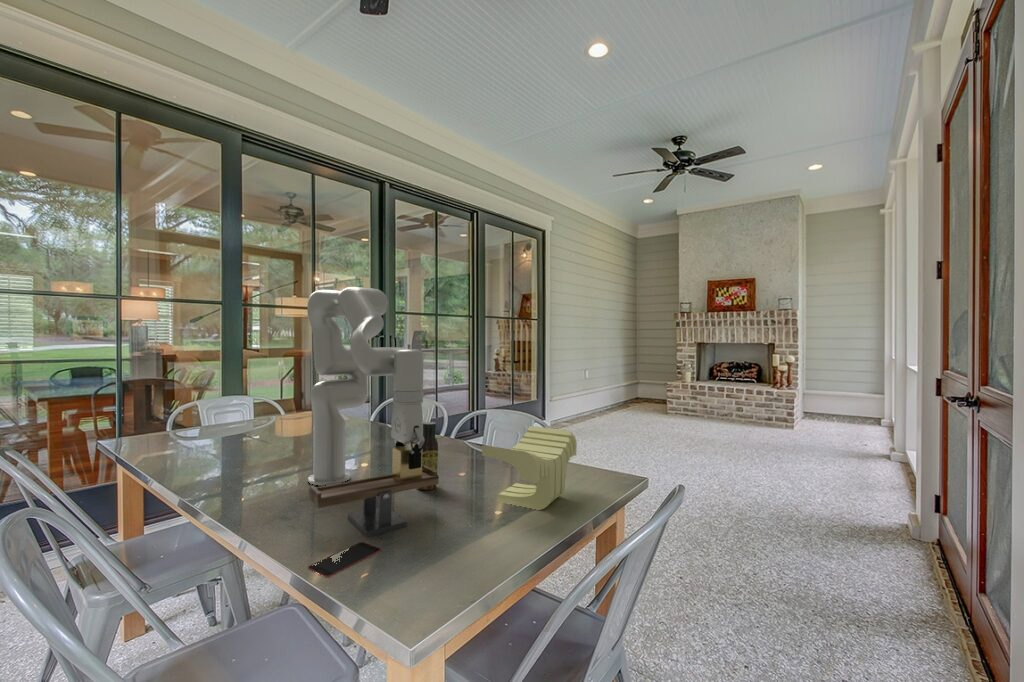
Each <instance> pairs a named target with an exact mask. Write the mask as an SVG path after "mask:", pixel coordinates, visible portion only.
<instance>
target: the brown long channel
mask: <svg viewBox="0 0 1024 682" xmlns="http://www.w3.org/2000/svg"><path fill="white" fill-rule="evenodd" d="M439 480H440V479H439V474H438V470H437V471H435V470H433V469H431V468H429V467H427V466H423V469H422V478H419V479H414V480H409V481H403V482H398V481H396V480H395V479H393V478H392V473H391V474H386V475H385V474H384V475H381V476H374V477H369V478H367V477H366V478H363V479H358V480H352V481H346V482H343V483H339V484H333V485H327V486H317V487H316V485H312V484H311V485H309V488H308V498H309V500H310V501H311V502H312V503H313V504H314V505H315V506H316V508H317V509H321V508H325V507H331V506H332V507H333V506H335V505H336V506H337V505H340V504H341V505H342V504H346V503H351V502H355V501H360V500H363V499H366V498H371V497H376V498H377V497H378V493H379V492H384V491H389V490H390V491H392V494H395V493H399V492H406V491H410V490H411V491H412V490H415V489H418V488H421V487H426V486H431V485H436V486H437V485H439Z"/></svg>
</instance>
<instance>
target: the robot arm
mask: <svg viewBox="0 0 1024 682" xmlns="http://www.w3.org/2000/svg"><path fill="white" fill-rule="evenodd" d="M388 306H389V301H388V297H387V296H386V294H385V293H384V292H383V291H382V290H380V289H377V288H371V287H360V286H359V287H358V286H350V287H349V286H348V287H346V288H344V289H342V290H335V289H321V290H316V291H314V292H312V293H311V294H310V296H309V297H308V300H307V306H306V308H307V309H306V312H307V317H308V321H309V323H310V327H311V331H312V342H313V343H312V344H313V347H312V348H313V362H314V363H313V364H314V365H313V366H314V368H315V369H314V370H315V372H316V374H318V375H320V376H323V377H333V376H334V377H336V376H346V378H347V379H346V378H345V379H331V380H323V381H319V382H317V383H315V384H314V385H313V386H312V387H311V389H310V393H309V397H310V403H311V408H312V416H313V418H312V419H313V420H312V421H313V438H312V439H313V444H312V445H313V447H312V449H313V450H312V451H313V453H312V454H313V455H312V456H313V457H312V458H313V459H312V474H311V475H309V476H308V477H307V483H308V482H309V483H310V485H312V484H313V485H314V486H316V485H318V486H317V487H322V486H325V485H333V484H339V483H342V482H343V483H345V481H346V482H348V481H349V480H350V479H351V473H350V472H349V471H346V443H347V442H346V436H347V433H346V432H347V431H346V429H347V428H346V427H347V426H346V421H345V419H344V417H343V416H342V415H341V414H340V412H339V411H340V410H346V409H353V408H354V409H356V408H359V407H362V406H364V405H365V404H366V402H367V399H368V377H382V376H384V377H385V376H393V381H392V383H393V385H392V386H393V387H392V388H393V389H392V390H393V391H392V398H393V399H392V403H393V404H392V411H391V420H390V421H391V422H390V423H391V425H390V437H391V438H392V439H393V447H398V446H405V445H409V449H410V453H409V469H416V468H420V467H421V452H422V448H423V444H424V441H425V439H424V437H423V423H424V417H423V416H424V415H423V406H422V404H423V402H424V353H423V351H422V350H421V349H415V348H414V349H413V348H405V347H401V346H400V347H397V346H396V347H394V346H393V347H390V346H389V347H386V346H385V347H384V346H383V347H372V346H371V345H370V343H369V342H368V341H369V340H370V339H372V338H374V337H376V336H377V335H378V334H380V332H381V331H382V330H383V328H384V325H385V324H384V319H383V317H382V316H383V315H385V313H386V312H387V310H388ZM333 318H340V319H346V320H347V321H348V323H349V324H350V326H351V327H352V329H353V332H352V335H351V338H350V341H349V342H350V345H343V338H342V337H343V336H342V330H341V328H340V327H339V325H338V323H336V321H335V320H334V319H333ZM413 444H414V445H415V446H414V448H413ZM347 480H348V481H347ZM309 483H308V484H309Z"/></svg>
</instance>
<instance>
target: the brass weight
mask: <svg viewBox="0 0 1024 682" xmlns="http://www.w3.org/2000/svg"><path fill="white" fill-rule="evenodd" d="M404 445H405V444H404ZM414 446H415V444H413V448H414ZM409 453H410V449H409V445H408V444H406V445H405V446H398V447H394V446H392V466H391V471H392V473H391V474H392V478H393V479H395V480H396V481H398V482H403V481H409V480H414V479H419V478H422V452H421V467H420V468H416V469H409Z"/></svg>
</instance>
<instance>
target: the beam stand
mask: <svg viewBox="0 0 1024 682" xmlns="http://www.w3.org/2000/svg"><path fill="white" fill-rule="evenodd" d="M392 494H393V493H392V491H390V490H389V491H384V492H379V493H378V496H376V497H371V498H366V499H362V510H358V511H354V512H350V513H347V519H348V520H349V521H350V522H351V523H352V524H353V525H354V526H355V527H356V526H357V527H356V528H357V529H358V531H360V533H362V534H363V536H364V537H366V538H367V536H368V537H370V536H371V535H372V536H376V535H378V533H379V534H383V533H387V532H391V531H394V529H395V530H398V528H399V529H402V528H405V527H408V526H407V525H408V524H407V523H408V522H407V520H405V519H404V518H403V517H401V516H400V515H399V514H398V513H396V512H395V511H394V510H392V504H393V503H392V500H393V499H392ZM390 530H391V531H390ZM386 531H387V532H386ZM375 534H376V535H375ZM372 536H371V537H372Z"/></svg>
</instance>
